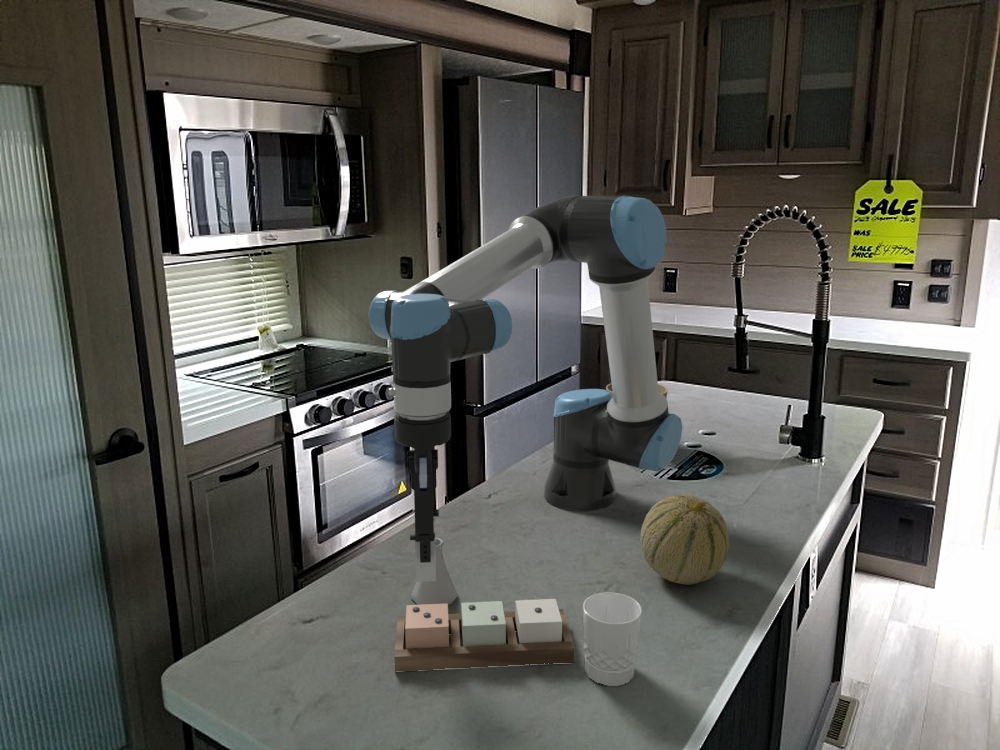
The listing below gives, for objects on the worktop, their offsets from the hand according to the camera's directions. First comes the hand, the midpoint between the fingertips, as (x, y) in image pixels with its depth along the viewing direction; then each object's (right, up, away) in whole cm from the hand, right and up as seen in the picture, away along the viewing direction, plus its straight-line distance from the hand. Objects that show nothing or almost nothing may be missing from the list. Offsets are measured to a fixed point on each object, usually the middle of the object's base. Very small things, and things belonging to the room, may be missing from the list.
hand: (426, 570), depth 108 cm
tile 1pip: (+16, -10, +4) cm, 19 cm away
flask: (0, -9, +17) cm, 19 cm away
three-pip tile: (0, -10, +3) cm, 10 cm away
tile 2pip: (+8, -10, +3) cm, 13 cm away
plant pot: (+44, +9, +85) cm, 96 cm away
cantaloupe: (+41, -7, +23) cm, 48 cm away
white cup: (+26, -14, -2) cm, 29 cm away
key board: (+8, -12, +4) cm, 15 cm away
